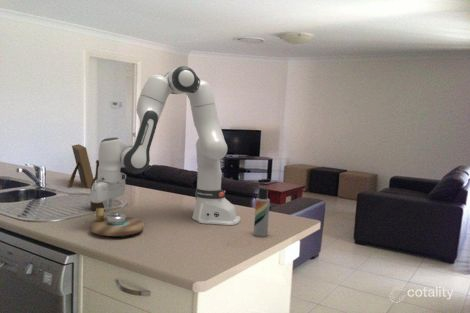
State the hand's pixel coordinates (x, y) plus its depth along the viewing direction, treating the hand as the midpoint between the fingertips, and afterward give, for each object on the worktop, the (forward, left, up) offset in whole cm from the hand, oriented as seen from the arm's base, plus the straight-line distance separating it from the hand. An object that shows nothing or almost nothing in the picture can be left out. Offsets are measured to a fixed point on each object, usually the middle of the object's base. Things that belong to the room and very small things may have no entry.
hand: (107, 209), depth 163 cm
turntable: (-9, +7, -5) cm, 12 cm away
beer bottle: (+17, -20, -7) cm, 27 cm away
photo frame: (+62, -67, -7) cm, 92 cm away
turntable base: (-9, +7, -7) cm, 13 cm away
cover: (-8, +7, -3) cm, 11 cm away
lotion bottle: (-63, -13, -7) cm, 64 cm away
